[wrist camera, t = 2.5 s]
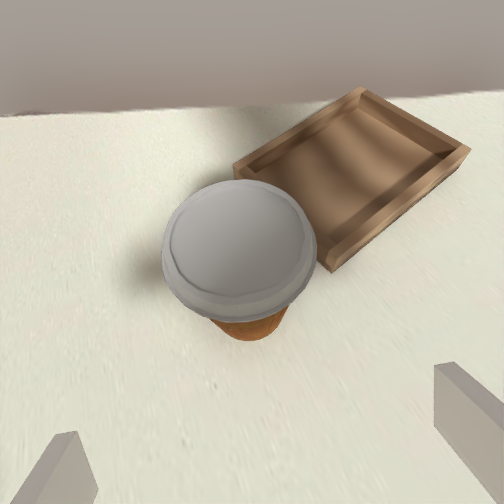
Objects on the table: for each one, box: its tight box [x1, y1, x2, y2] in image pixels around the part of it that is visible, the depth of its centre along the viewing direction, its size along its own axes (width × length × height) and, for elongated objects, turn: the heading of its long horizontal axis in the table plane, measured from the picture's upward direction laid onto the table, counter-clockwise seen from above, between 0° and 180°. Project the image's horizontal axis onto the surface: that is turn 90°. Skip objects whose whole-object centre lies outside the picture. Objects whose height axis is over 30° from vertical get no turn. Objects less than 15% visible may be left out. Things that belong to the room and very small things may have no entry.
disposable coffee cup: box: [161, 179, 317, 341], centre depth 23 cm, size 10×10×12 cm
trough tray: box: [233, 86, 471, 274], centre depth 34 cm, size 20×15×3 cm
